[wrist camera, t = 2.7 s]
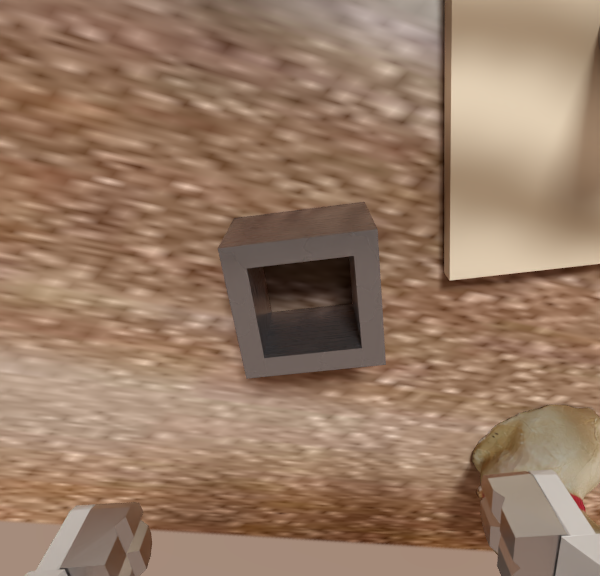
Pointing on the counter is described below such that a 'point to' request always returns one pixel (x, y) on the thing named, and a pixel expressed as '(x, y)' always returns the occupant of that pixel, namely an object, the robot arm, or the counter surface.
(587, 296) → the counter surface
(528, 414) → the chocolate bunny
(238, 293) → the hollow square tube
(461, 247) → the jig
